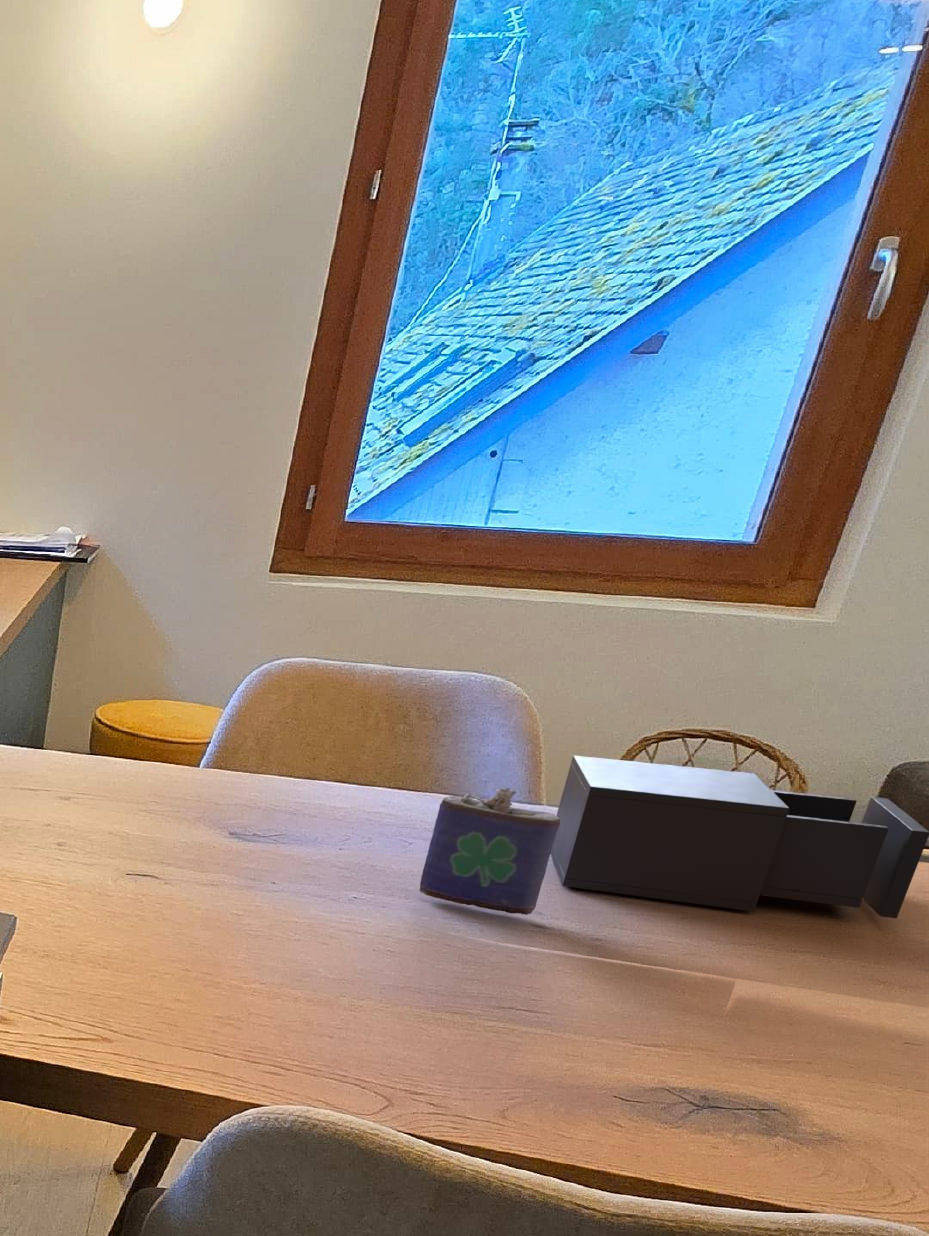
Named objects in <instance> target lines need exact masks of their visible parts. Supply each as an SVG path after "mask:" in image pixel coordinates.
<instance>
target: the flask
mask: <svg viewBox="0 0 929 1236" xmlns="http://www.w3.org/2000/svg"><path fill="white" fill-rule="evenodd" d="M495 793H496V794H495V796H494V797H489V798H487V799H483V798H482V797H479V796H475V797H474V798H475V799H474V798H473V797H471V794H470V793H466V794H464V795H463V796H454V795H453V796H452V795H451V796H445V797H444V798H443V799H442V801H441V803H440V804H439V808H438V812H437V815H436V819H435V823H434V827H433V831H432V836H431V840H430V843H429V846H428V850H427V855H426V857H425V862H424V866H423V869H422V874H421V877H420V882H419V890H418V891H419V893H421V894H424V895H425V896H428V897H431V898H435V899H440V900H442V901H443V900H444V901H447V902H451V903H454V904H458V905H466V906H474V907H477V908H480V909H486V910H487V909H488V910H490V911H498V912H505V913H506V914H507V913H508V914H520V915H526V916H528V915H530V914H532V913H533V912H534V910H535V909H536V907H537V903H538V899H539V895H540V892H541V887H542V884H543V881H544V879H545V876H546V872H547V866H548V863H549V859H550V856H551V850H552V846H553V843H554V840H555V837H556V832H557V830H558V828H559V825H560V819H559V817H558V816H556V815H557V814H554V813H551V812H546V811H539V810H538V811H537V810H532V809H531V810H530V809H525V808H518V807H517V808H515V807H511V806H513V803H512V802H511V799H512V798H513V796H514V795H516V794H517V791H516V790H515V789H512V788H511V789H510V788H509V787H505V788H503V787H502V788H496V790H495Z"/></svg>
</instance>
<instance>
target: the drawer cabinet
mask: <svg viewBox="0 0 929 1236" xmlns="http://www.w3.org/2000/svg"><path fill="white" fill-rule="evenodd" d="M772 790H773V789H772V788H770V787H769V786H768V785H767V784H766V783H765V781H763V780H762V779H761V778H760V777H759V776H758V775H757V774H756V773H751V772H742V771H732V770H724V769H723V770H722V769H712V768H701V767H694V766H693V767H692V766H683V765H682V766H681V765H671V764H664V763H663V764H662V763H652V762H642V761H633V760H625V759H624V760H623V759H613V758H605V757H603V758H602V757H593V756H583V755H573V756H572V758H571V761H570V765H569V769H568V773H567V776H566V779H565V783H564V786H563V789H562V794H561V797H560V801H559V805H558V809H557V812H556V814H555V815H556V816H558V817H559V819H560V825H559V828H558V830H557V832H556V837H555V840H554V843H553V846H552V850H551V854H550V856H551V860H552V862H553V866H554V868H555V871H556V873H557V876H558V878H559V880H560V883H561V885H562V887H566V888H567V887H568V888H574V889H582V890H589V891H597V892H604V893H611V894H617V895H618V894H620V895H626V896H635V897H642V898H649V899H656V900H664V901H673V902H678V903H679V902H680V903H685V904H686V903H687V904H693V905H702V906H707V907H708V906H709V907H716V908H723V909H724V908H725V909H732V910H740V911H747V912H755V910H756V907H757V905H758V902H759V898H760V896H761V895H760V893H761V890H762V887H763V884H764V881H765V879H766V876H767V873H768V870H769V867H770V864H771V861H772V858H773V855H774V852H775V850H776V847H777V844H778V841H779V838H780V835H781V832H782V829H783V826H784V823H785V821H786V818H787V817H786V816H787V815H788V812H789V807H788V806H787V805H786V804H785V803H784V802H783V801H782V800H781V799H780V798H779V797H778V796H777V795H776V794H775V793H774V792H773V791H772Z"/></svg>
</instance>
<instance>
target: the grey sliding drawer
mask: <svg viewBox="0 0 929 1236" xmlns="http://www.w3.org/2000/svg"><path fill="white" fill-rule="evenodd" d="M771 790H772V791H773V792H774V793H775V794H776V795H777V796H778V797H779V798H780V799H781V800H782V801H783V802H784V803H785V804H786V805H787V806H788V807H789V812H788V815H787V816H786V817H787V818H786V821H785V823H784V826H783V829H782V832H781V835H780V838H779V841H778V844H777V847H776V850H775V852H774V855H773V858H772V861H771V864H770V867H769V870H768V873H767V876H766V879H765V881H764V884H763V887H762V890H761V893H760V896H763V897H764V896H765V897H772V898H780V899H787V900H795V901H801V902H810V903H818V904H825V905H834V906H842V907H849V908H856V909H859V908H860V907H861V903H862V902H863V901H864V902H865V903H866V904H867V905H868V906H869V908H871V909H872V910H873V911H874V912H875V914H877V915H878V916H879V917H882V918H890V919H898V916H899V915H900V912H901V908H902V907H903V903H904V901H905V898H906V896H907V893H908V891H909V889H910V886H911V883H912V880H913V877H914V875H915V872H916V870H917V868H918V865H919V863H926V864H929V854H926V853H923V852H924V849H925V847H929V830H928V829H927V828H925V827H924V826H923V825H921V823H919V822H918V821H916V820H915V819H914V818H913V817H911V816H910V815H909V814H908V813H906V812H905V811H904V810H903V809H901V808H900V807H899V806H897V805H896V804H895V803H894V802H893V801H891V800H890V799H889V798H887V797H881V796H880V797H879V796H870V798H869V801H868V804H867V807H866V809H865V812H864V815H863V817H862V820H861V822H854V821H851V818H852V816H853V813H854V810H855V808H856V805H857V799H855V798H851V797H841V796H833V795H832V796H831V795H824V794H822V795H821V794H813V793H812V794H811V793H803V792H793V791H784V790H774V789H771Z"/></svg>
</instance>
